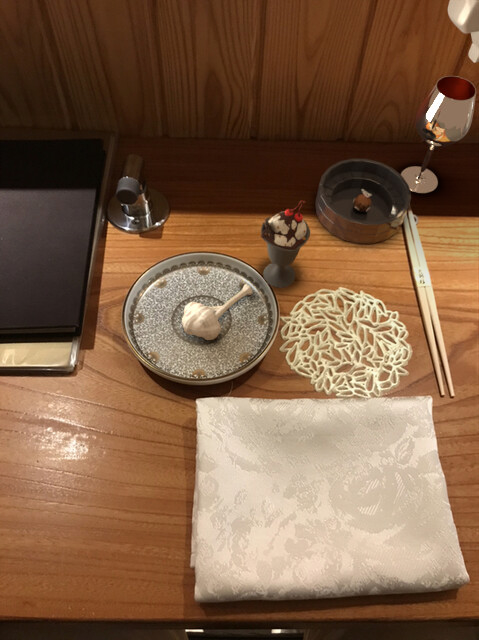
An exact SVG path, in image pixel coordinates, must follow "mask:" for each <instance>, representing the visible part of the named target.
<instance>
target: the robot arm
mask: <svg viewBox="0 0 479 640" xmlns="http://www.w3.org/2000/svg"><path fill="white" fill-rule="evenodd" d="M447 5H448V6H447V14H448V17H449V20H450V21H451V23H453V25H454V26H455V27H456V28H457V29H458V30H459V31H460V32H461V33H463V34H465V35H466V34H467V35H468V34H470V36H471V42H472V43H471V46H470V48H469V51H468V58H469V59H470V61H472V62H473V63H479V0H449V2H448V4H447Z"/></svg>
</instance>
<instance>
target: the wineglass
mask: <svg viewBox="0 0 479 640" xmlns="http://www.w3.org/2000/svg"><path fill="white" fill-rule="evenodd" d="M476 96H477V88H476V86H475V85H474V83H473V82H471V81H470V80H468V79H466V78H464V77H462V76H458V75H456V76H455V75H446V76H443V77H440V78H439V79H438V80H437V81H436V82H435V84H434V85H433V86H432V87H431V89H430V90H429V92H428V93H427V95H426V96H425V98H424V99H423V100H422V101H421V103H420V105H419V107H418V109H417V111H416V114H415V120H414V121H415V128H416V129H415V130H416V131H417V133H418V135H419V137H420V138H421V139H422V140H423V141H424V142H425V143H426V144H427V146H428V149H427V152H426V154H425V157H424V160H423V162H422V164H421V166H416V165H414V166H408V167H406V168H405V169H403V170H402V171H401V173H400V175H402V177H403V178H404V179H405V181H406V182H407V184H408V186H409V189H410V192H414V193H418V194H427V193H431V192H433V191H435V190H436V188H437V187H438V185H439V181H438V177H437V176H436V175H435V173H434V172H433V171H432V170H430V169H429V168H427V167H428V165H429V162H430V159H431V157H432V156H433V153H434V150H435V149H437V148H442V147H448V146H452V145H454V144H456V143H458V142H459V141H460V140H462V139H463V138H464V137H465V136H466V135H467V134H468V132H469V130H470V129H471V125H472V122H473V117H474V111H475V105H476Z"/></svg>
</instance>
